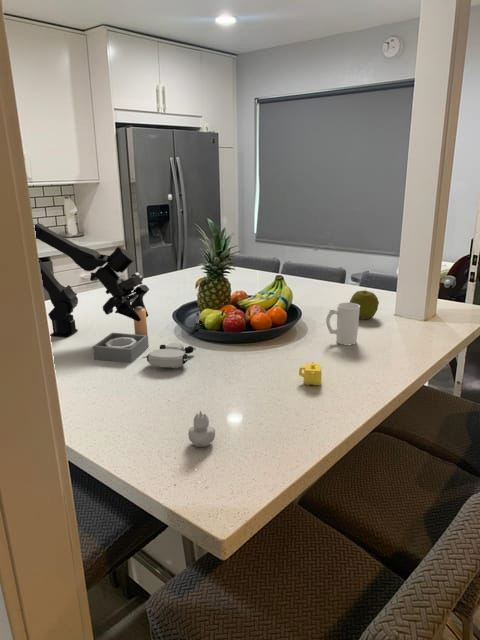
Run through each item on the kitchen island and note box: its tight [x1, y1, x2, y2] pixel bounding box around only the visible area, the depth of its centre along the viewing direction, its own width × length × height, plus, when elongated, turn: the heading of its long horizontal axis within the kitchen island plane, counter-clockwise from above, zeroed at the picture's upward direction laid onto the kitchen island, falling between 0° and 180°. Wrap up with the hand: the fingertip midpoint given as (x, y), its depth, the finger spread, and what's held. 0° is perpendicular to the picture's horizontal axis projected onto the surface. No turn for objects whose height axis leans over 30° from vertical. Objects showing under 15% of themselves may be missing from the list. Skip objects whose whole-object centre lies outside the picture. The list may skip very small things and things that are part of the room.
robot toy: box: [142, 342, 197, 369], centre depth 138 cm, size 12×4×15 cm
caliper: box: [195, 311, 201, 324], centre depth 173 cm, size 20×1×6 cm, turn 173°
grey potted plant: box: [187, 410, 216, 448], centre depth 98 cm, size 5×7×8 cm
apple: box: [349, 290, 380, 320], centre depth 173 cm, size 10×10×11 cm
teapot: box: [298, 362, 322, 386], centre depth 125 cm, size 8×6×5 cm
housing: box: [92, 332, 150, 364], centre depth 145 cm, size 12×12×4 cm
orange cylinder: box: [133, 306, 149, 336], centre depth 157 cm, size 4×4×10 cm
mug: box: [325, 302, 360, 346], centre depth 151 cm, size 10×7×12 cm, turn 89°
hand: (143, 318), depth 156 cm, fingers closed on orange cylinder, 4 cm apart
